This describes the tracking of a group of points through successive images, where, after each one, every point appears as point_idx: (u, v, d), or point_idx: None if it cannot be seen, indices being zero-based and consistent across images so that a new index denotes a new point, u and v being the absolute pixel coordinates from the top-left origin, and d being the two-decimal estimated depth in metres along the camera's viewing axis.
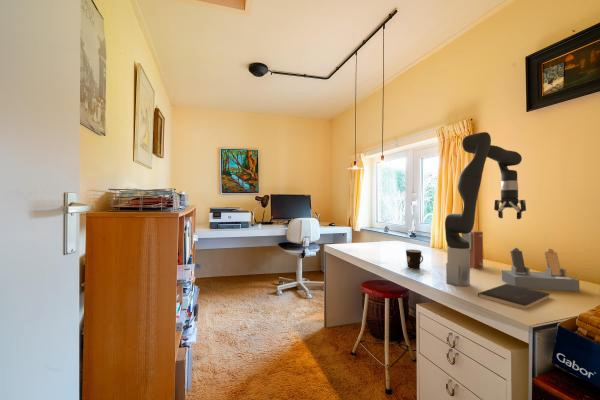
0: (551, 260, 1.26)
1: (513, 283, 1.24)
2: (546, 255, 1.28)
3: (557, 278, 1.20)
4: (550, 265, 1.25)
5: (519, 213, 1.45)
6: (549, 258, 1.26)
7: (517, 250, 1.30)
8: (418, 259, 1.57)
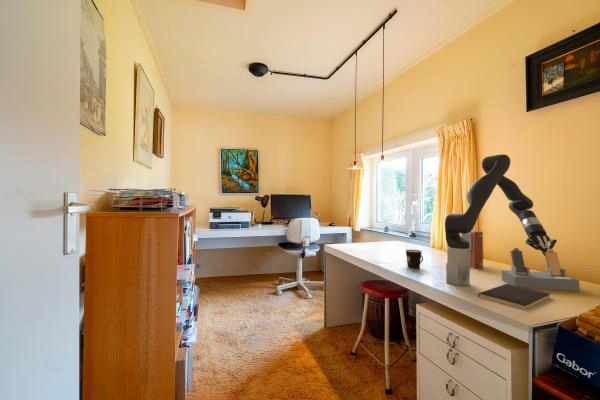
0: (551, 260, 1.26)
1: (513, 283, 1.24)
2: (546, 255, 1.28)
3: (557, 278, 1.20)
4: (550, 265, 1.25)
5: None
6: (549, 258, 1.26)
7: (517, 250, 1.30)
8: (418, 259, 1.57)
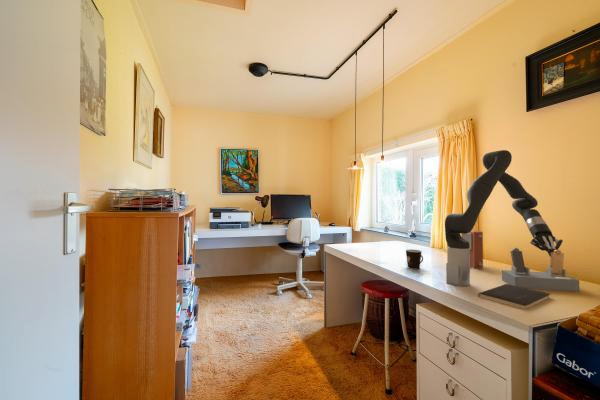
0: (555, 261, 1.23)
1: (513, 283, 1.24)
2: (552, 256, 1.24)
3: (557, 278, 1.20)
4: (553, 266, 1.23)
5: None
6: (554, 259, 1.23)
7: (517, 250, 1.30)
8: (418, 259, 1.57)
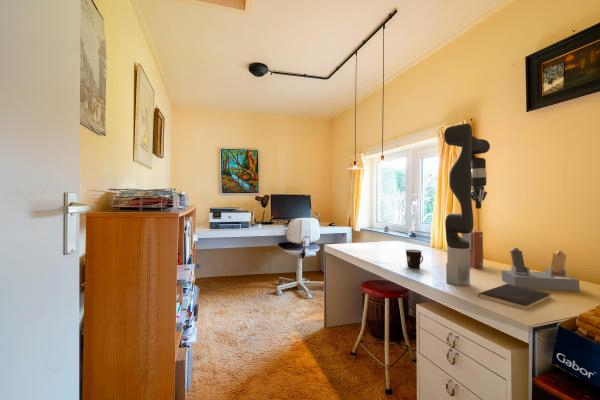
0: (557, 263, 1.22)
1: (513, 283, 1.24)
2: (554, 257, 1.22)
3: (557, 278, 1.20)
4: (554, 267, 1.23)
5: (480, 202, 1.50)
6: (556, 261, 1.22)
7: (517, 250, 1.30)
8: (418, 259, 1.57)
